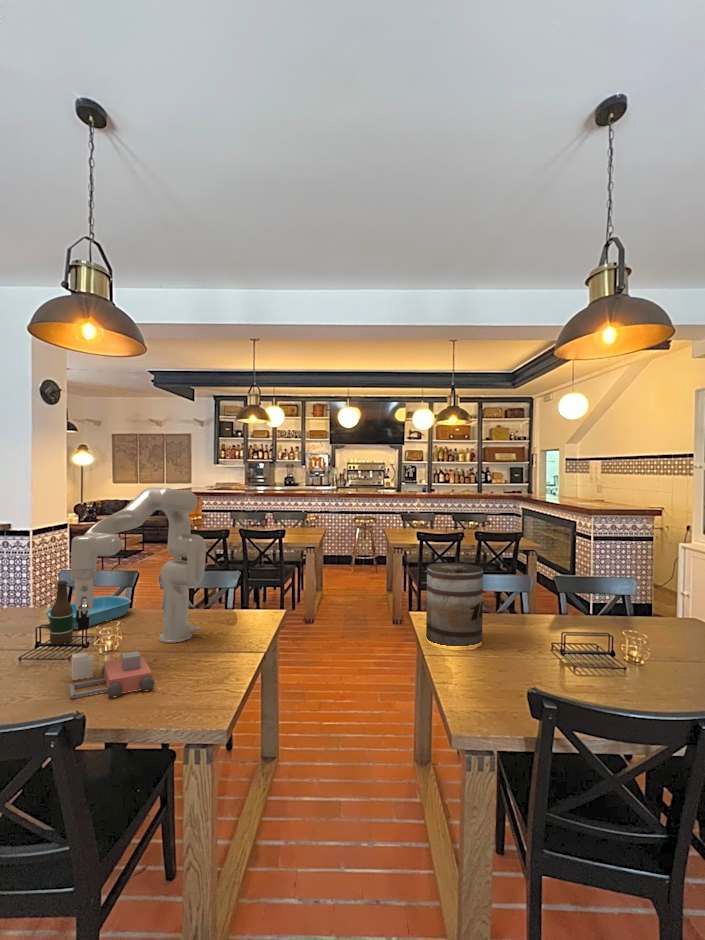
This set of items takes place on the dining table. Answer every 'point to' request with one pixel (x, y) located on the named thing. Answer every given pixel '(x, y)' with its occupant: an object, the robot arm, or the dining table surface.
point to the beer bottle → (61, 617)
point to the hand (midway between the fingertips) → (82, 625)
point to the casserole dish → (102, 609)
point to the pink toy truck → (120, 676)
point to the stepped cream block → (82, 666)
